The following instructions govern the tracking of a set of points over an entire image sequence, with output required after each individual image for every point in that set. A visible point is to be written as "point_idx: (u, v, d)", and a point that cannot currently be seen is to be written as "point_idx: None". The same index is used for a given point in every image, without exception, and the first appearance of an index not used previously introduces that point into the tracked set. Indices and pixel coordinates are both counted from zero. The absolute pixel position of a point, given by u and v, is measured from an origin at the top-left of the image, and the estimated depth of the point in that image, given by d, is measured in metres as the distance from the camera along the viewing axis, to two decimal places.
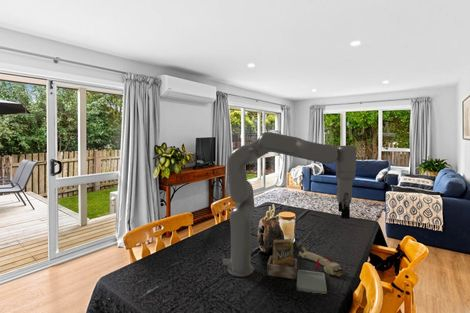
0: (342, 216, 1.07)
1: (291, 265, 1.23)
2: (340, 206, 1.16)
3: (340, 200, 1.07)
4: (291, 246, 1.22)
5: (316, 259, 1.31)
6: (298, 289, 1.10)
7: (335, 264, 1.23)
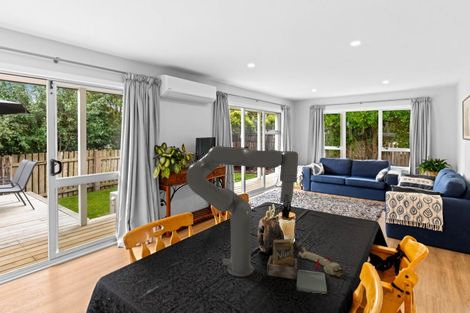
0: (282, 215, 1.17)
1: (291, 265, 1.23)
2: None
3: (281, 201, 1.17)
4: (291, 246, 1.22)
5: (316, 259, 1.31)
6: (298, 289, 1.10)
7: (335, 264, 1.23)
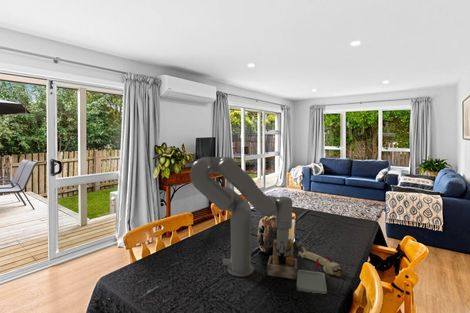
0: (279, 262, 1.21)
1: (291, 265, 1.23)
2: None
3: (277, 247, 1.20)
4: (291, 246, 1.22)
5: (315, 259, 1.31)
6: (298, 289, 1.10)
7: (334, 264, 1.23)
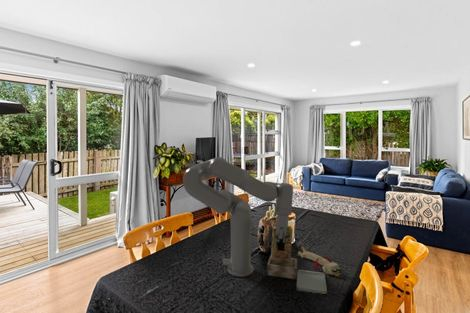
0: (278, 248, 1.21)
1: (290, 252, 1.22)
2: None
3: (276, 233, 1.19)
4: (290, 233, 1.21)
5: (315, 259, 1.31)
6: (298, 289, 1.10)
7: (334, 264, 1.23)
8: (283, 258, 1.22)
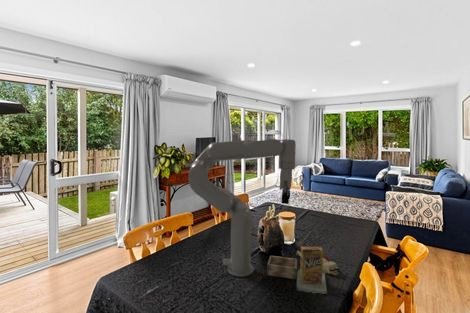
0: (282, 201, 1.21)
1: (320, 275, 1.13)
2: None
3: (280, 187, 1.21)
4: (321, 254, 1.13)
5: None
6: (298, 289, 1.10)
7: (332, 263, 1.24)
8: (313, 281, 1.14)
